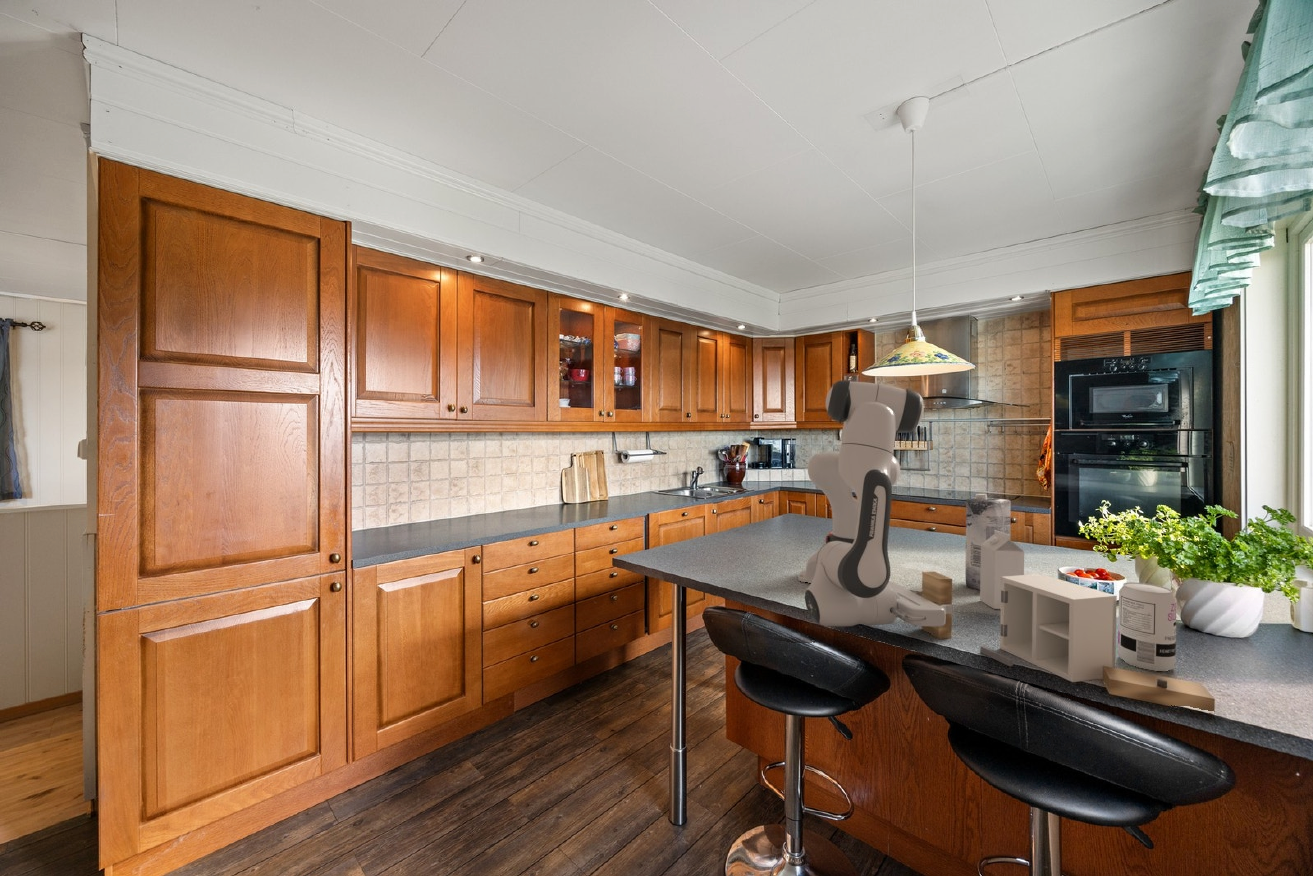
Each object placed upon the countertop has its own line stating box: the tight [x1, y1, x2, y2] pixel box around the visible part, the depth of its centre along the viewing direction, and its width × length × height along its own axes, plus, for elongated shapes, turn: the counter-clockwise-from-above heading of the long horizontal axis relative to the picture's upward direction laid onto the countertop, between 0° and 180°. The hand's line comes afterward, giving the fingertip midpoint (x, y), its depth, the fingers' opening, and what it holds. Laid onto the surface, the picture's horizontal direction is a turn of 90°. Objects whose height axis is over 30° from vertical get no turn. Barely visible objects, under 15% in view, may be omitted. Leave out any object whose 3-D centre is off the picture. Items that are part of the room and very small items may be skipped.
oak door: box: [921, 571, 953, 640], centre depth 119 cm, size 4×6×13 cm, turn 7°
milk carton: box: [979, 530, 1025, 610], centre depth 138 cm, size 7×7×19 cm
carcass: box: [979, 573, 1118, 683], centre depth 104 cm, size 16×15×15 cm
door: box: [1101, 666, 1216, 712], centre depth 91 cm, size 13×6×4 cm, turn 59°
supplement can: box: [1117, 581, 1178, 671], centre depth 104 cm, size 8×8×15 cm
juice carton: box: [964, 493, 1012, 591], centre depth 153 cm, size 9×10×27 cm
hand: (937, 601), depth 119 cm, fingers open, 8 cm apart
